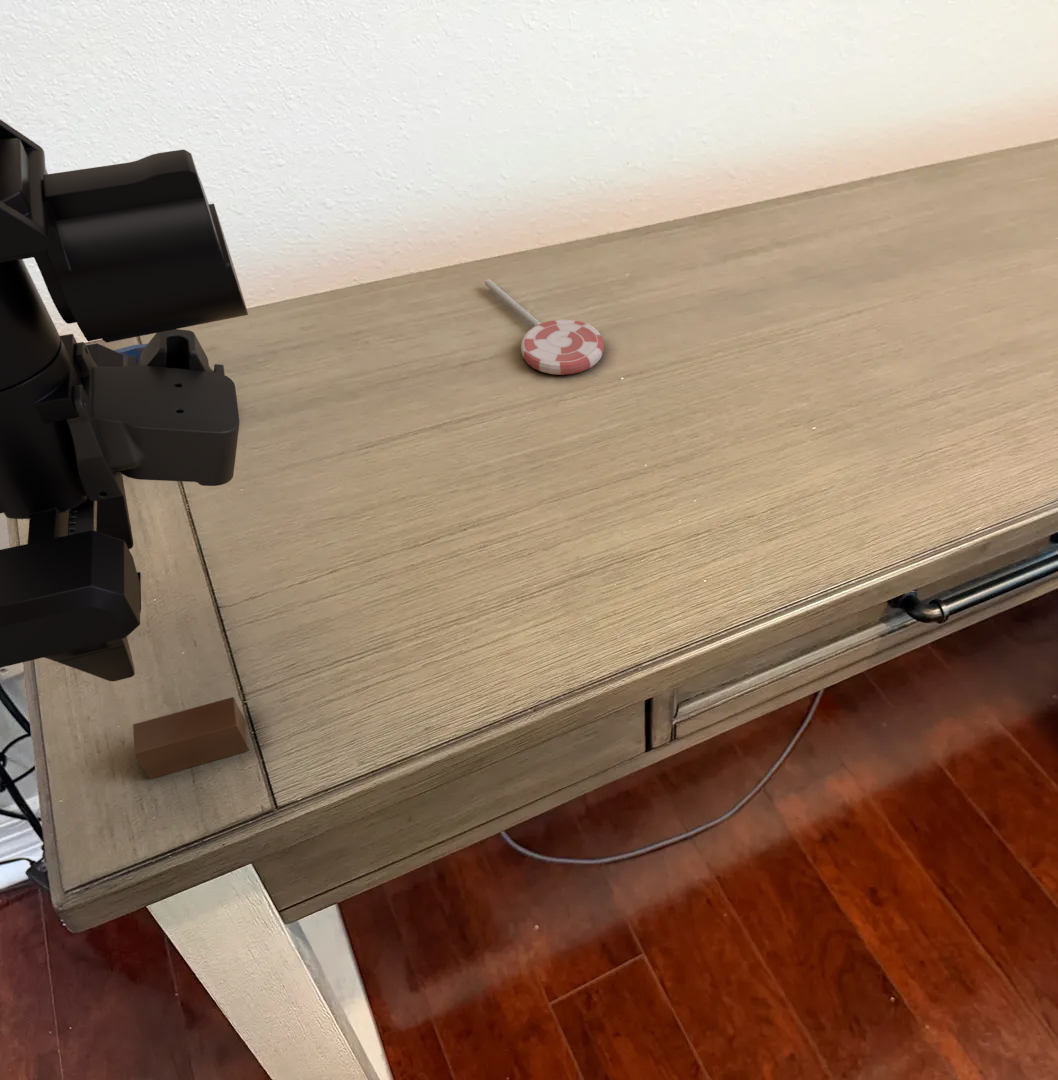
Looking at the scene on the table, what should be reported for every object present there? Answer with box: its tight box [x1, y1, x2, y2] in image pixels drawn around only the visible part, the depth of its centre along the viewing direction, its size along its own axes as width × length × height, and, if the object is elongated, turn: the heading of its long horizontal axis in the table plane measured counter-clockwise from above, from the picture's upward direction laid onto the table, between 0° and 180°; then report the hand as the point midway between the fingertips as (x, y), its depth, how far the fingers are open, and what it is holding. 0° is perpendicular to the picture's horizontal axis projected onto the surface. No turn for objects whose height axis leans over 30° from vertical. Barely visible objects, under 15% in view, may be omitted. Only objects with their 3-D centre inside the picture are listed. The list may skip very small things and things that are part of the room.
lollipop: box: [484, 278, 605, 376], centre depth 85 cm, size 7×1×15 cm
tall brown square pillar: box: [132, 696, 250, 780], centre depth 55 cm, size 2×5×2 cm, turn 113°
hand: (123, 609), depth 53 cm, fingers open, 9 cm apart
